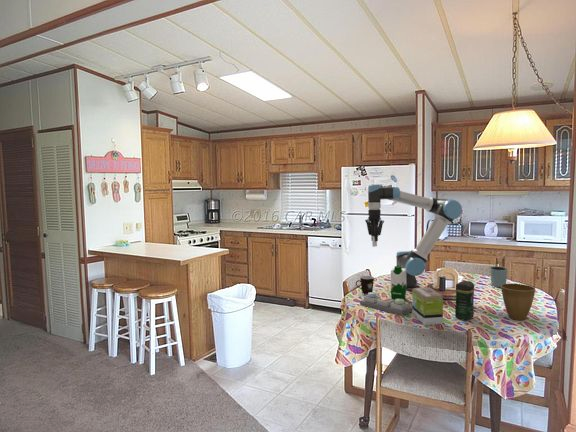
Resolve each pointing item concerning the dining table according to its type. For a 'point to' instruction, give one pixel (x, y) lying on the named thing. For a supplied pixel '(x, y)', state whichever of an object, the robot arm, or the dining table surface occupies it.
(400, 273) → the milk carton
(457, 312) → the coffee jar
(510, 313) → the plant pot
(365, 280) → the coffee mug
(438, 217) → the robot arm
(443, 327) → the dining table surface
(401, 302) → the sage button
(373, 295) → the slate button
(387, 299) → the terracotta button
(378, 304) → the button board
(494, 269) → the blue-grey cylindrical pot
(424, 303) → the tea box
